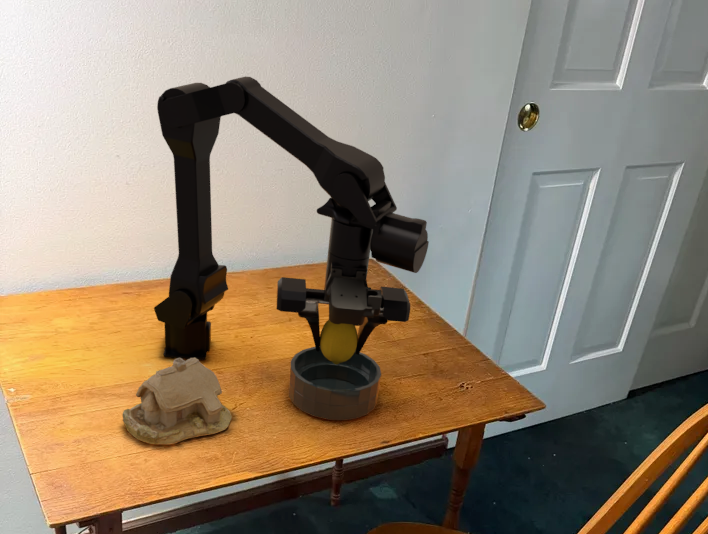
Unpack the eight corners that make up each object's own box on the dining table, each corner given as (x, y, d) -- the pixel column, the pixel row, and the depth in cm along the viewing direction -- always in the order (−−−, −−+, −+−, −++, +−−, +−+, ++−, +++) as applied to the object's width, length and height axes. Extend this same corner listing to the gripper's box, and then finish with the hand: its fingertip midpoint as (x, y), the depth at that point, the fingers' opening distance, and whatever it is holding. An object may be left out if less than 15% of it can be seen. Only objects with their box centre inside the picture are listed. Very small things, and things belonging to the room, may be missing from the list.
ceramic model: (194, 390, 117) (194, 330, 112) (244, 423, 112) (246, 362, 107) (111, 422, 108) (106, 358, 102) (162, 460, 103) (159, 395, 97)
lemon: (349, 376, 116) (355, 327, 111) (312, 367, 116) (317, 318, 111) (358, 359, 120) (364, 312, 115) (323, 351, 120) (328, 303, 116)
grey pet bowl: (288, 420, 115) (291, 388, 112) (288, 373, 126) (290, 342, 122) (380, 425, 117) (385, 394, 114) (372, 378, 128) (376, 349, 125)
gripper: (280, 269, 100) (273, 375, 109) (423, 283, 103) (405, 384, 112) (280, 236, 108) (273, 337, 118) (412, 250, 112) (396, 347, 121)
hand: (337, 352), depth 117 cm, fingers closed on lemon, 5 cm apart
